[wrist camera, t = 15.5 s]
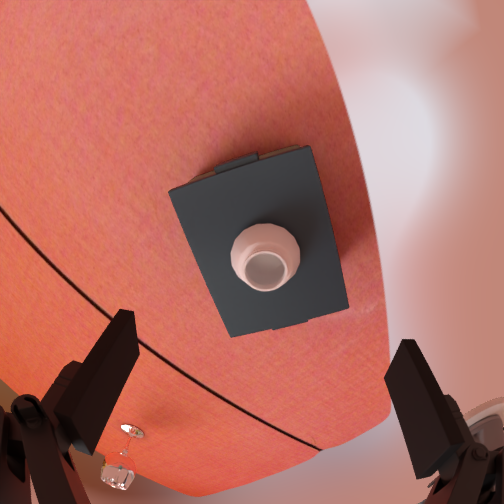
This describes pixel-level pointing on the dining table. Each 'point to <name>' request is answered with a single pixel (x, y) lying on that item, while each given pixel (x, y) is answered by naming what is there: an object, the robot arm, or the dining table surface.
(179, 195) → the box
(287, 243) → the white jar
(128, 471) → the wineglass
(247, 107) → the dining table surface
